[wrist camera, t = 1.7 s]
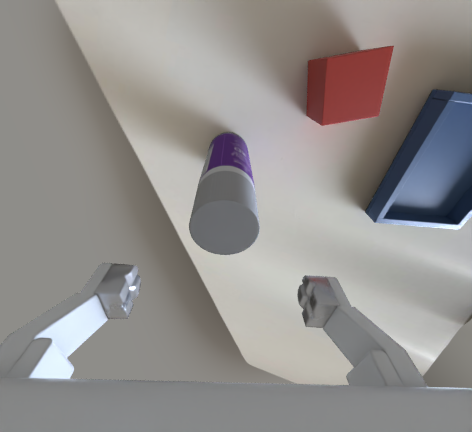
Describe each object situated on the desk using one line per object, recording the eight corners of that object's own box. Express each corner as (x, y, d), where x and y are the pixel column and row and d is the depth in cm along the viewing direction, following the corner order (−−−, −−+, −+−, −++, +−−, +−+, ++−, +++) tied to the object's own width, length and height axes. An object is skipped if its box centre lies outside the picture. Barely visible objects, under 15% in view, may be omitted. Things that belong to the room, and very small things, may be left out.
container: (252, 138, 25) (272, 208, 12) (241, 174, 27) (248, 261, 15) (213, 127, 24) (193, 189, 12) (205, 165, 26) (182, 249, 14)
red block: (308, 60, 20) (327, 58, 16) (361, 50, 20) (394, 45, 16) (306, 115, 23) (321, 125, 19) (352, 107, 23) (378, 116, 19)
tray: (432, 89, 22) (454, 91, 20) (540, 103, 23) (571, 106, 21) (364, 212, 31) (374, 222, 29) (443, 218, 32) (459, 229, 30)
